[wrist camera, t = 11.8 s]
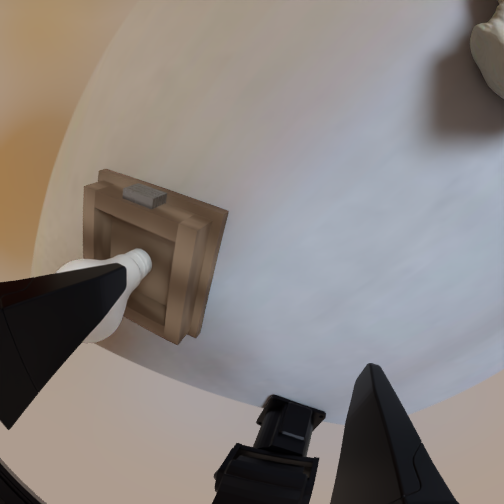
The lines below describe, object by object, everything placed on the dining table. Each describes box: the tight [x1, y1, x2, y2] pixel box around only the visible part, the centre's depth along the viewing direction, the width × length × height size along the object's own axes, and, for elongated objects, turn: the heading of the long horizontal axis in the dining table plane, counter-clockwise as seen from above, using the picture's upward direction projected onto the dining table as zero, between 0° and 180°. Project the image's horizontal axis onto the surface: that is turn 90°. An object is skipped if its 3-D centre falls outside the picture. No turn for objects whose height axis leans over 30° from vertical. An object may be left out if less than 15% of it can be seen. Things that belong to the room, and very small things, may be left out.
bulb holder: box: [83, 169, 229, 345], centre depth 25 cm, size 13×13×4 cm
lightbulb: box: [56, 248, 152, 343], centre depth 21 cm, size 6×6×11 cm
